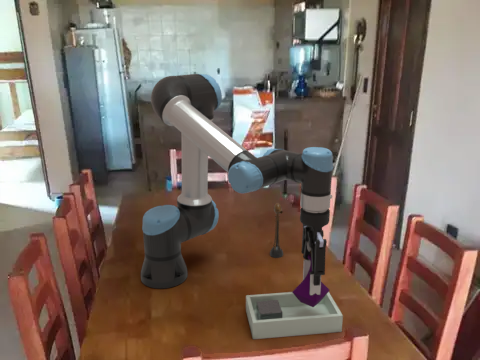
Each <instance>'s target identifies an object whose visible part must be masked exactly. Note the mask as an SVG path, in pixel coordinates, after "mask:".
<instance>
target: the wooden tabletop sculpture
mask: <svg viewBox="0 0 480 360" xmlns="http://www.w3.org/2000/svg"><path fill="white" fill-rule="evenodd" d="M273 212H274V213H275V214H276V215H275V216H274V217H275V228H274V232H275V233H274V241H273V247H272V248H271V249H270V250H269V255H270V257H271V258H274V259H280V258H283V256H284V251H283V249H282V248H281V244H280V242H281V241H280V217H281V216H280V214H281V215H282V214H283V213H284V211H283V209H282V205H281V204H280V203H279V202H276V203H275V204H274V206H273Z"/></svg>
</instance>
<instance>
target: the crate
mask: <svg viewBox="0 0 480 360" xmlns="http://www.w3.org/2000/svg"><path fill="white" fill-rule="evenodd" d="M292 292H293V291H287V292H276V293H275V292H274V293H262V294H261V293H259V294H250V295H249V294H247V295H245V312H246V316H247V322H248V324H249V328H250V333H251V337H252V340H260V339H271V338H273V339H274V338H283V337H284V338H285V337H295V336H296V337H297V336H307V335H308V336H309V335H318V334H319V335H320V334H330V333H331V334H332V333H342V331H343V321H344V319H343V318H344V315H343V314H342V312H341V310H340V307H339V306H338V304H337V303H336V302H335V300H334V298H333V296H332V295H331V293H330V291H329V292H328V293H327V294H326V295H325V297H324V298H323V299H322V300H321V301H320V302H319V303H318V304H317V305H316V306H314V307H311V306H309V305H306V304H304V303H301V302H300V301H299V300H298V299H297V297H296V296H295V295H294V294H293V293H292ZM271 300H278V302H279V305H280V307H281V310H282V318H278V319H266V320H258V318H257V314H256V311H257V302H258V301H271Z"/></svg>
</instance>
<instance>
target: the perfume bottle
mask: <svg viewBox="0 0 480 360" xmlns="http://www.w3.org/2000/svg"><path fill="white" fill-rule="evenodd" d="M307 249H308V251H309V252H311V248H310V247H309V241H308V242H307ZM308 259H309V260H310V261H311V265H310V269H309V272H312V260H311V254H309V255H308ZM309 272H308V274H307V276H306V277H305V279H304V280H303V279H302V280H301V282H300V283H299V284H298V285H297V287H295V288H294V289H293V290H292V291H291V292H292V293H293V294H294V295H295V296H296V297H297V299H298V300H299V301H300V302H301V303H304V304H306V305H309V306H311V307H314V306H316V305H317V304H318V303H319V302H320V301H321V300H322V299H323V298H324V297H325V295H326V294H327V293H328V292H329V293H330V288H328V286H326V284H324V283H323V282H322V281H321V291H320V295H317V294H316V293H315V294H313V295H310V274H309Z"/></svg>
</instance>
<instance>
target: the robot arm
mask: <svg viewBox="0 0 480 360" xmlns="http://www.w3.org/2000/svg"><path fill="white" fill-rule="evenodd" d="M222 99H223V95H222V89H221V87H220V85H219V83H218V82H217V81H216V79H215V77H213V76H211V75H209V74H207V73H206V74H205V73H190V74H181V75H168V76H165V77H163V78H161V79H159V80H158V81H157V82H156V83H155V85H154V87H153V88H152V91H151V94H150V101H151V106H152V107H151V108H152V109H153V112H154V113H155V114H156V116H157V117H158V118H159V120H161V121H162V123H164V124H165V125H167V126H170V127H175V129H177V130H178V131H179V132H180V133H181V193H180V194H179V195H178V196H177V199H176V205H173V204H163V205H161V204H160V205H157V206H154V207H152V208H150V209H148V210H147V211H146V212H145V213H144V214H143V217H142V227H141V229H142V235H143V246H144V247H143V249H144V260H143V263H142V267H141V269H140V280H141V283H142V284H143V285H144V286H147V287H149V288H151V289H152V288H153V289H169V288H174V287H176V286H179V285H181V284H183V283H184V282H185V281H186V280H187V278H188V268H187V264H186V262H185V259H184V258H183V255H182V243H185V242H187V241H190V240H192V239H195V238H196V237H200V236H202V235H206V234H207V233H209V232H211V231H213V230H214V229H215V228H216V226H217V224H218V222H219V219H220V218H219V214H220V213H219V209H218V208H217V204H216V203H215V201H214V200H213V199H212V196H211V195H210V194H209V193H208V187H209V186H208V185H209V184H208V181H209V180H208V179H209V175H208V173H209V158H210V159H211V160H212V161H214V162H215V163H216V164H217V165H218V166H219V167H221V168H222V169H223V170H224V171H226V173H227V179H228V183H229V184H230V187H231V189H232V190H233V191H235V192H236V193H238V194H247V193H252V192H257V191H258V190H260V189H262V188H265V187H268V186H270V185H271V186H272V185H274V184H277V183H279V182H280V183H281V182H282V181H291V182H295V183H300V203H299V204H300V210H299V211H300V212H299V222H300V223H301V224H302V238H301V239H302V240H301V250H300V251H301V254H303V255H302V258H303V266H302V281H303V280H304V279H305V277H306V276H307V274H308V272H309V269H310V265H311V261H310V260H309V259H308V255H309V254H311V260H312V272H309V274H310V295H313V294H315V293H316V294H317V295H320V291H321V282H322V276H325V275H326V251H327V249H326V248H327V242H328V241H327V239H326V238H324V236H325V235H324V230H323V228H324V227H326V226H327V225H329V223H330V216H331V215H330V213H331V210H330V208H331V199H333V195H332V193H331V192H332V179H333V169H334V166H333V165H334V164H333V152H332V151H331V150H330V149H328V148H326V147H317V146H312V147H311V146H310V147H306V148H304V149H303V150H302V153H300V152H296V151H292V150H291V151H290V150H286V149H283V148H268V149H267V150H266V152H264V153H263V154H262V156H259V157H257V156H255V155H254V153H253V154H252V153H251V152H250V151H249V150H247V149H246V148H245V147H243V145H242V144H240V143H239V142H237V141H236V140H235V139H234V138H233V137H232V136H230V135H229V134H228V133H226V132H225V131H224V130H223V129H222V128H220V127H219V126H218V125H216V124H215V122H213V121H214V118H215V117H214V115H215V114H214V113H215V111H216V110H218V109H219V107H220V106H221V104H222ZM308 241H309V247H310V248H311V252H309V251H308V249H307V242H308Z"/></svg>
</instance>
